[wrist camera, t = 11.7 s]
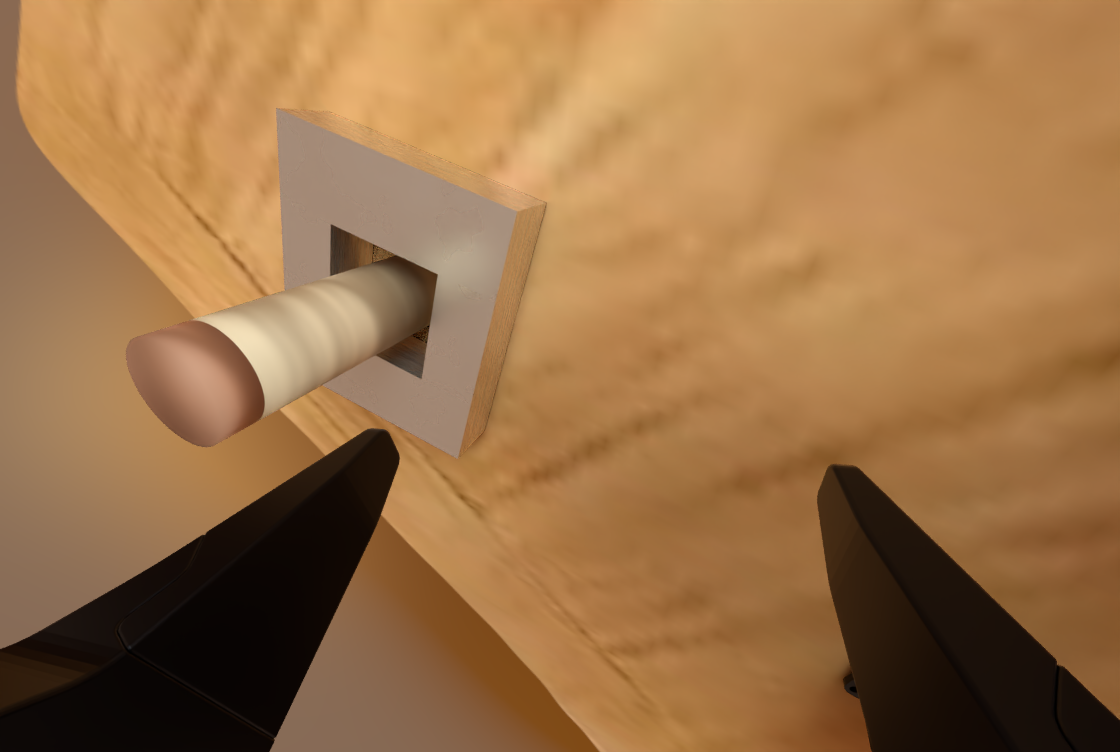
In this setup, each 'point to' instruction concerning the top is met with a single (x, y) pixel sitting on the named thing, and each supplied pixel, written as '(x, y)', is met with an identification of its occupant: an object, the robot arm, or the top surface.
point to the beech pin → (276, 347)
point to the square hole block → (422, 238)
